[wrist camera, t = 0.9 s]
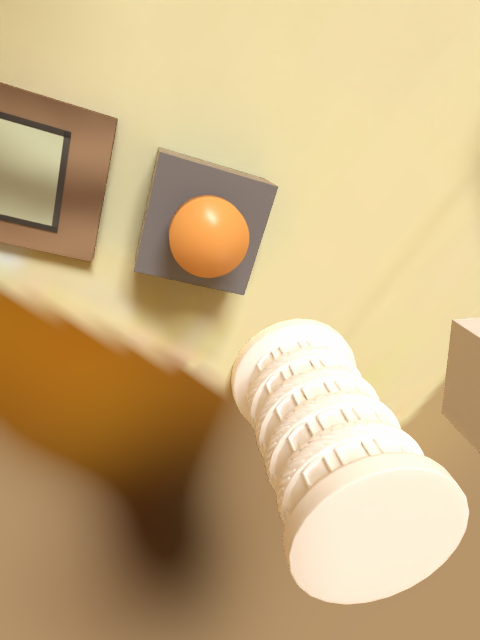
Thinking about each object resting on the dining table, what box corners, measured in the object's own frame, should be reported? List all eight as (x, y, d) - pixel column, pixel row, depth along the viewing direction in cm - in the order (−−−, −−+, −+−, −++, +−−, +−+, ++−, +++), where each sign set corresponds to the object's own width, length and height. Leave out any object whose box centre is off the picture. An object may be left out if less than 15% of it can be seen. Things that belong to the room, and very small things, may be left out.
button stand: (158, 147, 31) (159, 151, 28) (264, 178, 33) (278, 186, 30) (135, 254, 34) (134, 271, 30) (234, 277, 36) (243, 295, 33)
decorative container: (325, 431, 45) (421, 609, 29) (216, 417, 42) (256, 607, 26) (369, 331, 41) (510, 473, 25) (251, 307, 38) (326, 452, 22)
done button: (178, 185, 27) (180, 189, 26) (254, 206, 29) (259, 211, 27) (160, 261, 29) (161, 268, 28) (232, 277, 31) (236, 285, 29)
